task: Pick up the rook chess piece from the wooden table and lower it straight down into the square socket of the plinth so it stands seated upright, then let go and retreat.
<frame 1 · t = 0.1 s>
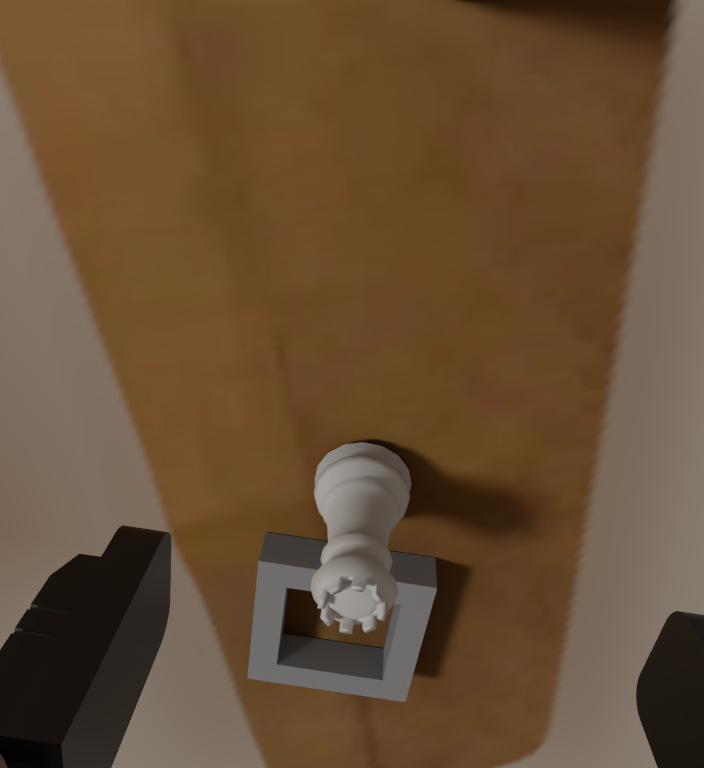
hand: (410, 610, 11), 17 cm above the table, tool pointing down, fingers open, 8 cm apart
rook chess piece: (363, 473, 31), on the table
socket plinth: (339, 605, 35), on the table
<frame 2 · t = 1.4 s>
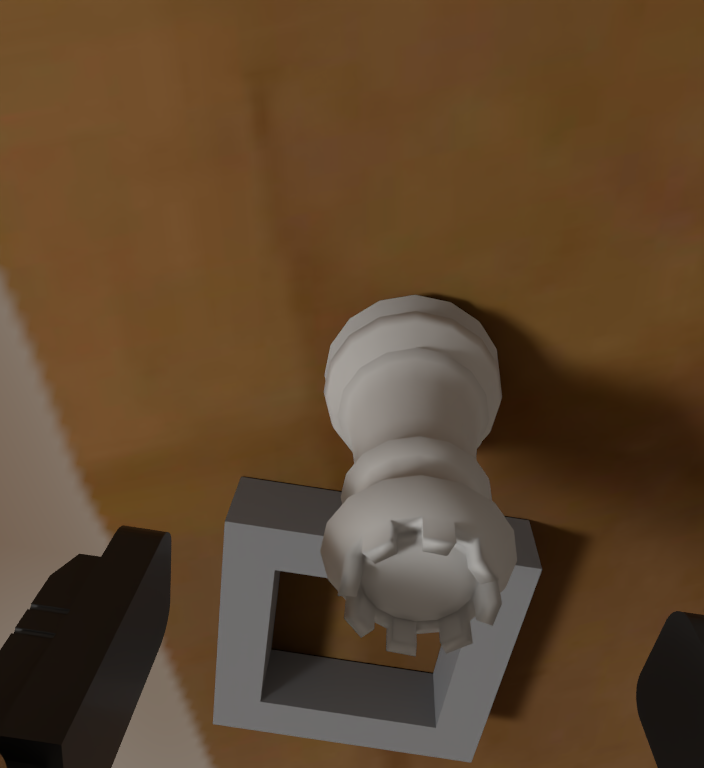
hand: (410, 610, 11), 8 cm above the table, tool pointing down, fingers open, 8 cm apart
rook chess piece: (411, 366, 17), on the table
socket plinth: (364, 603, 21), on the table
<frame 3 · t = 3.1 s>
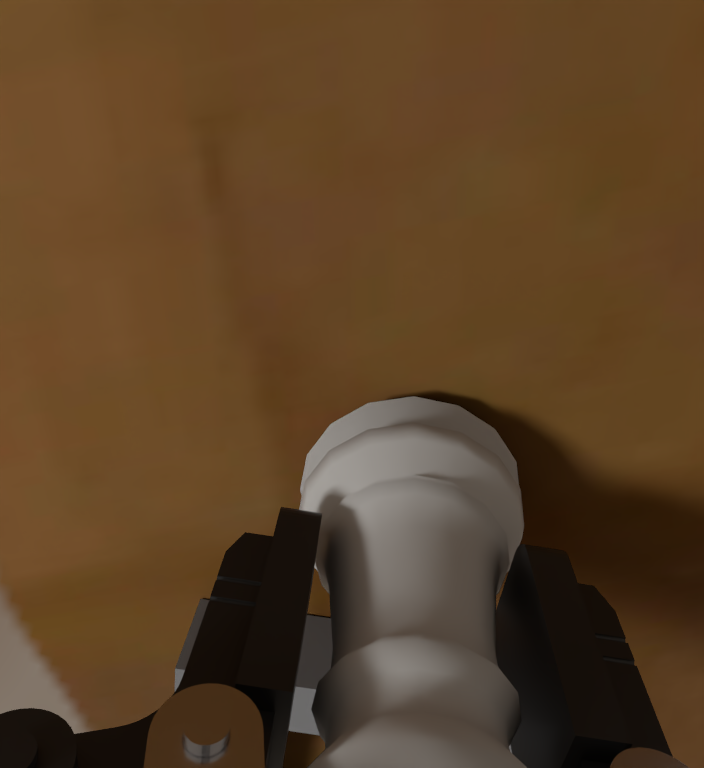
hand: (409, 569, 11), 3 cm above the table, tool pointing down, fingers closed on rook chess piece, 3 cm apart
rook chess piece: (408, 474, 14), on the table, touching gripper
socket plinth: (352, 739, 18), on the table
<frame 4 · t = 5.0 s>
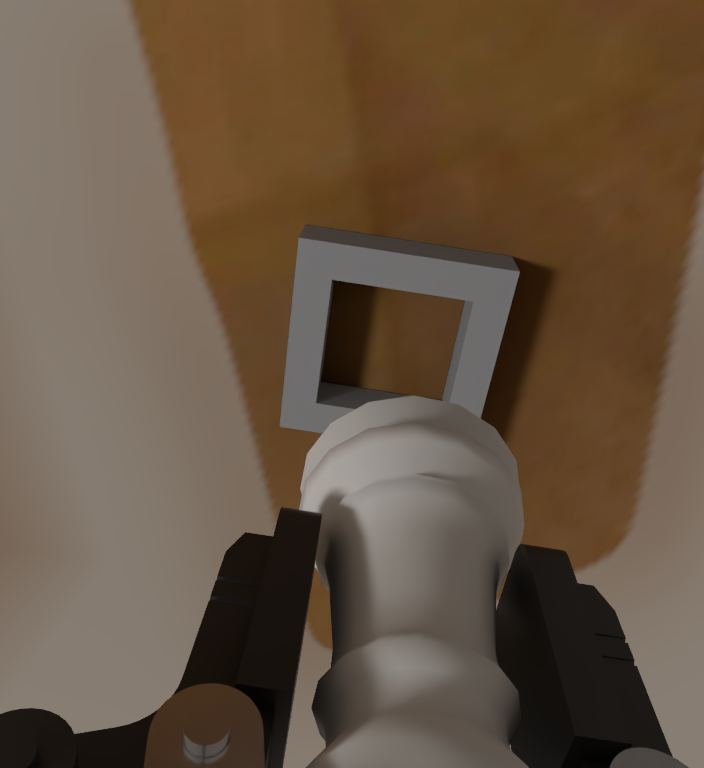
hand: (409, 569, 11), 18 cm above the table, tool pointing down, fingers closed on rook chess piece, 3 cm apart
rook chess piece: (408, 473, 14), point 15 cm above the table, touching gripper
socket plinth: (391, 335, 29), on the table
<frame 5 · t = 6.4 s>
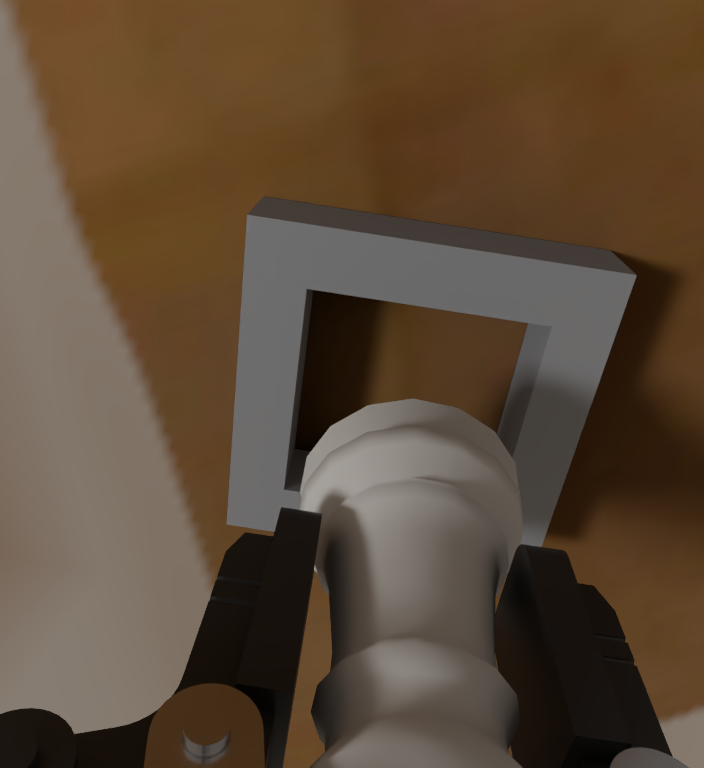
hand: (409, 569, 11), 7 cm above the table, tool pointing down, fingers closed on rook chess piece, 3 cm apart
rook chess piece: (408, 476, 14), point 4 cm above the table, touching gripper
socket plinth: (406, 378, 18), on the table
when the fingers open (4 cm above the table, at t = 7.4 s): rook chess piece drops 1 cm, resting in socket plinth.
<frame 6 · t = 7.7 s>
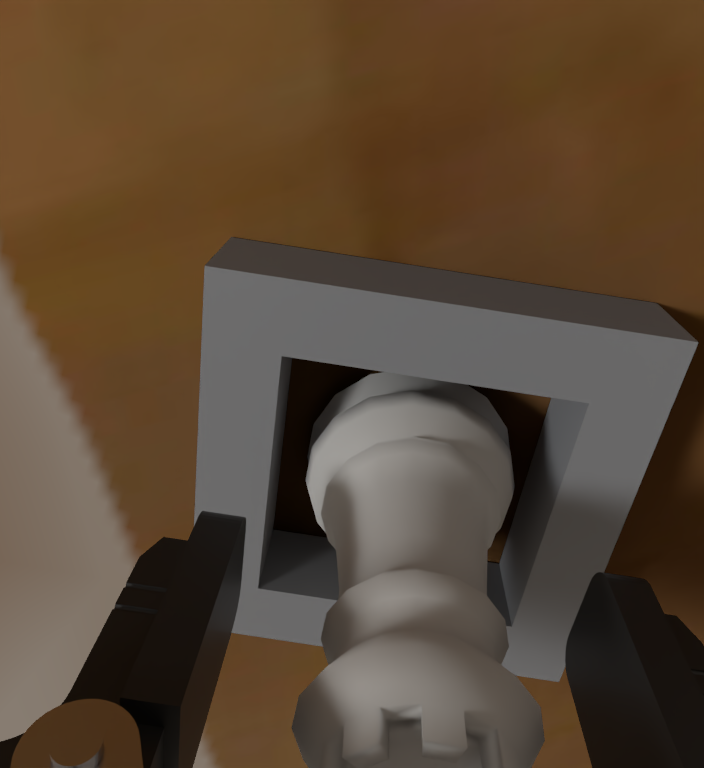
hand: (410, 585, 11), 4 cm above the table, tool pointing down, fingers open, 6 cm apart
rook chess piece: (407, 443, 15), resting in socket plinth
socket plinth: (406, 450, 15), on the table
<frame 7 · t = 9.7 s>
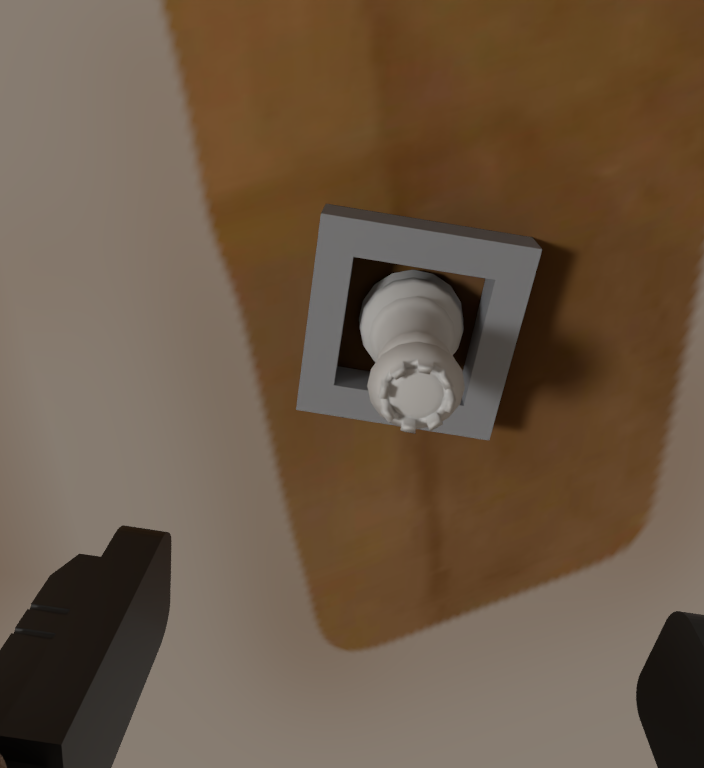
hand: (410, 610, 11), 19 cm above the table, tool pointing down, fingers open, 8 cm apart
rook chess piece: (410, 315, 29), resting in socket plinth
socket plinth: (409, 318, 29), on the table
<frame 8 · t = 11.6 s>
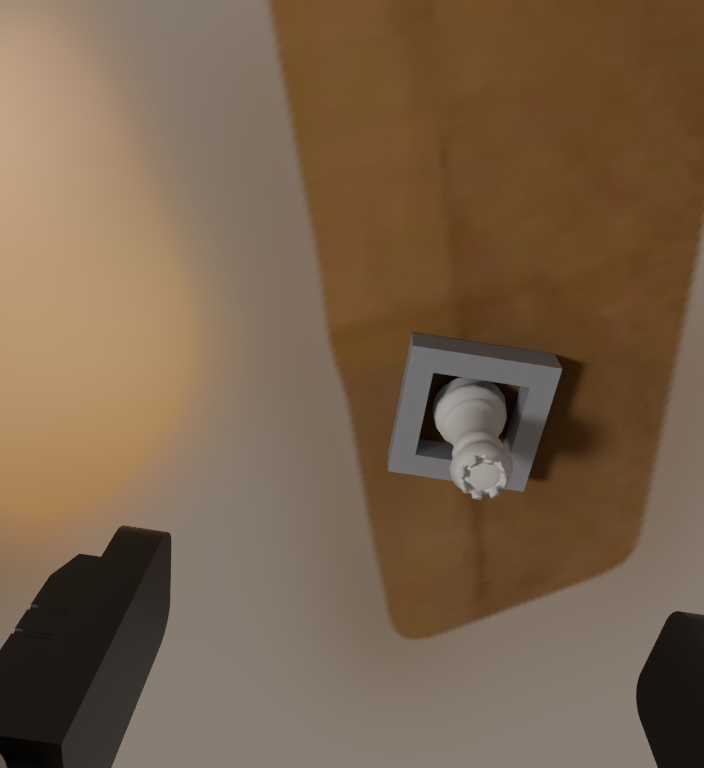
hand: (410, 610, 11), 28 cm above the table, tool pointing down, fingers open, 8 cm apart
rook chess piece: (467, 403, 41), resting in socket plinth
socket plinth: (467, 406, 40), on the table
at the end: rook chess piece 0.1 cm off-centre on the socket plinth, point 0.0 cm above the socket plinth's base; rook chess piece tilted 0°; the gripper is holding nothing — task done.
